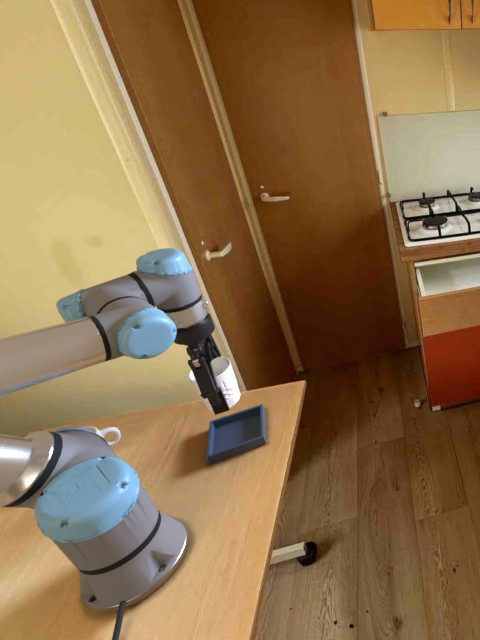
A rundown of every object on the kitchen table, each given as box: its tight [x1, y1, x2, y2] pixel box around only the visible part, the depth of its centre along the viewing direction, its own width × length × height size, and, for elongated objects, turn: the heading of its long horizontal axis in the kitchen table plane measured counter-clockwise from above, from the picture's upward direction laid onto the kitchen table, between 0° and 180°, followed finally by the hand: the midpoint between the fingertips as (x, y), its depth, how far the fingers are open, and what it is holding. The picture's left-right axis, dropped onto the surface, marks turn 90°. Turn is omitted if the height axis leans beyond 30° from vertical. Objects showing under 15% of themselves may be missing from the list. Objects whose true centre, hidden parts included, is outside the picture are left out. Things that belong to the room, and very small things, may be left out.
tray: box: [205, 403, 267, 465], centre depth 103 cm, size 12×12×2 cm
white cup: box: [188, 356, 241, 413], centre depth 96 cm, size 8×8×10 cm
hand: (223, 399), depth 98 cm, fingers closed on white cup, 8 cm apart
